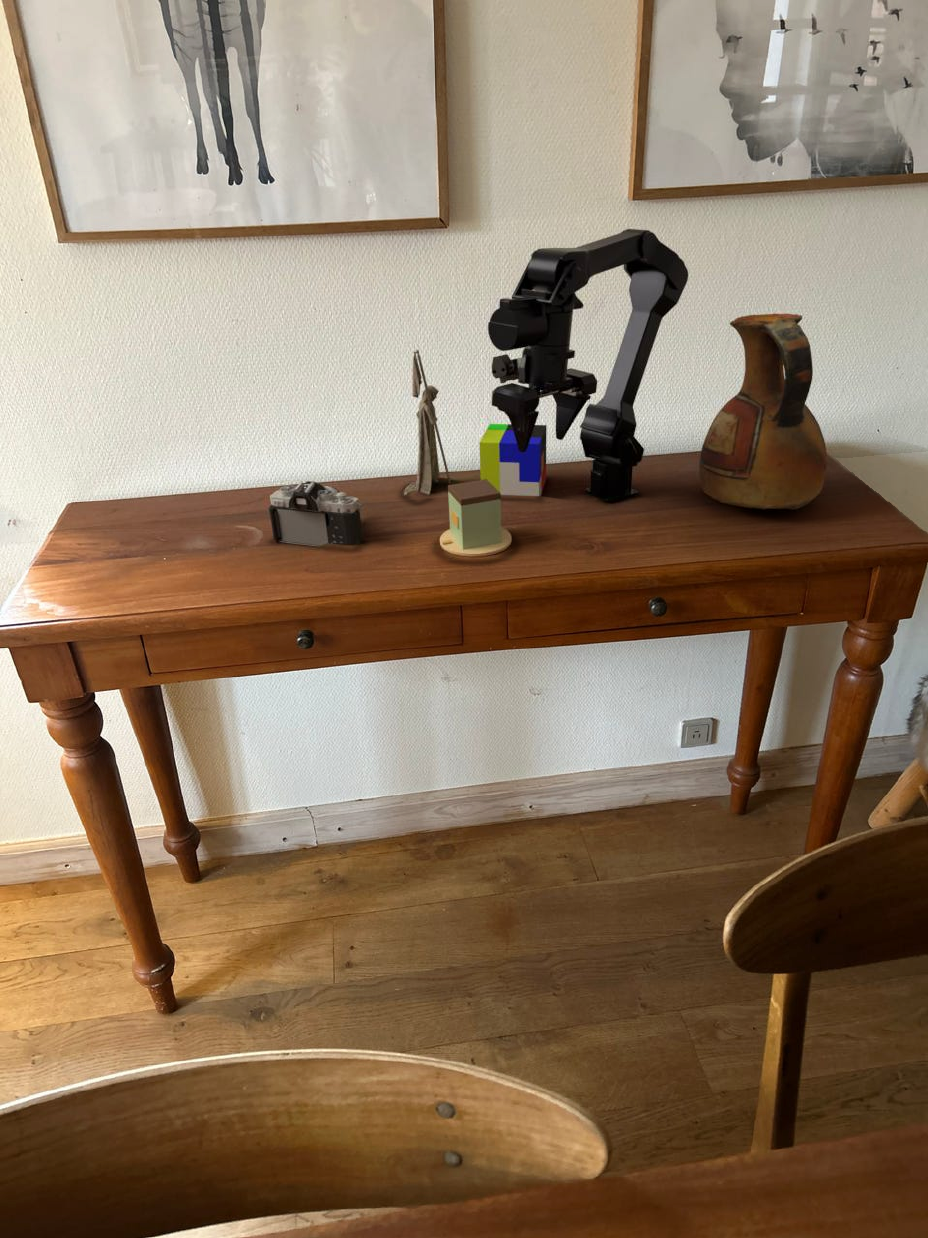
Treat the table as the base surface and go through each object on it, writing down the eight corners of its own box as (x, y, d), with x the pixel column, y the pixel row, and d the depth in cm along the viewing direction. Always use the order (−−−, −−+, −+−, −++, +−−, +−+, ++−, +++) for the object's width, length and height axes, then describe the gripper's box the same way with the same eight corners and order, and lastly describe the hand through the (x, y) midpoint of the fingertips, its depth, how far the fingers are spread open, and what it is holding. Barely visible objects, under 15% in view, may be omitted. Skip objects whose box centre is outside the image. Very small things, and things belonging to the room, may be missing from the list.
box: (496, 521, 143) (495, 471, 139) (522, 549, 134) (522, 496, 130) (431, 533, 140) (427, 482, 136) (452, 561, 131) (450, 508, 127)
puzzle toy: (538, 500, 152) (539, 444, 147) (481, 498, 154) (479, 442, 149) (546, 479, 161) (546, 425, 156) (491, 477, 163) (489, 423, 158)
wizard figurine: (454, 500, 154) (447, 353, 141) (405, 504, 153) (393, 356, 141) (449, 479, 163) (442, 338, 150) (402, 482, 162) (391, 342, 150)
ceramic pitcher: (771, 472, 159) (796, 296, 144) (847, 514, 143) (884, 320, 128) (674, 489, 154) (689, 309, 139) (740, 534, 138) (766, 335, 123)
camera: (379, 531, 144) (374, 472, 139) (355, 555, 137) (349, 493, 132) (294, 521, 149) (285, 464, 144) (266, 544, 141) (257, 484, 136)
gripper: (546, 324, 141) (538, 421, 149) (466, 340, 129) (461, 444, 137) (604, 337, 135) (592, 437, 143) (526, 355, 123) (517, 463, 131)
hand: (541, 445), depth 138 cm, fingers open, 9 cm apart
